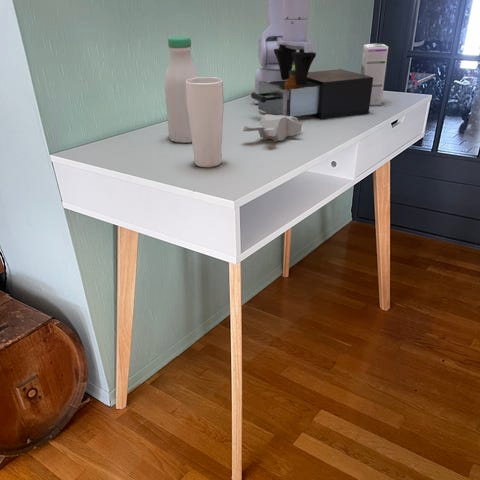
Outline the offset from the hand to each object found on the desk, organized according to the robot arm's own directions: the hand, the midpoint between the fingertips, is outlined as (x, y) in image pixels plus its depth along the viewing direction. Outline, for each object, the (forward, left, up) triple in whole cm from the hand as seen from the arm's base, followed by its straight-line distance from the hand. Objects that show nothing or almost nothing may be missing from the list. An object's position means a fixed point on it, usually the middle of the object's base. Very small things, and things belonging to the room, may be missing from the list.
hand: (292, 81), depth 126 cm
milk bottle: (-16, -29, -8) cm, 34 cm away
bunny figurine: (+3, -23, -8) cm, 24 cm away
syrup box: (+17, +20, -8) cm, 28 cm away
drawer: (-1, -1, -7) cm, 7 cm away
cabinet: (+8, +8, -8) cm, 14 cm away
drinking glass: (-4, -44, -8) cm, 45 cm away
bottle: (0, 0, -6) cm, 6 cm away
